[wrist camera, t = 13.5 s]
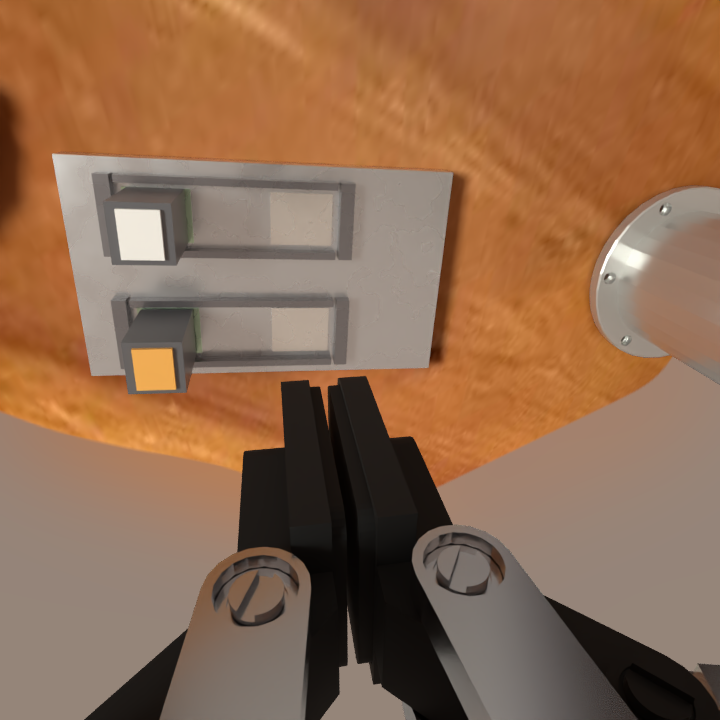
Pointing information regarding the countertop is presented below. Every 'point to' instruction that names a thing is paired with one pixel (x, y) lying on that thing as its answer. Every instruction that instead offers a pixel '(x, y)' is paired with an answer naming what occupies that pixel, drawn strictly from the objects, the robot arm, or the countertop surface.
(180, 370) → the handle
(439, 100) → the countertop surface
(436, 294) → the panel
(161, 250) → the handle
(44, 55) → the countertop surface
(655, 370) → the countertop surface
